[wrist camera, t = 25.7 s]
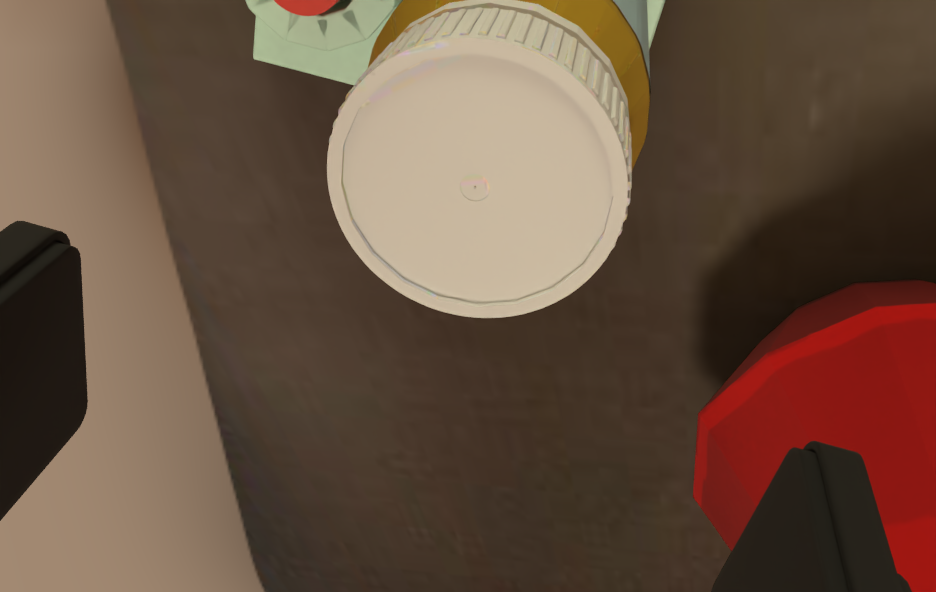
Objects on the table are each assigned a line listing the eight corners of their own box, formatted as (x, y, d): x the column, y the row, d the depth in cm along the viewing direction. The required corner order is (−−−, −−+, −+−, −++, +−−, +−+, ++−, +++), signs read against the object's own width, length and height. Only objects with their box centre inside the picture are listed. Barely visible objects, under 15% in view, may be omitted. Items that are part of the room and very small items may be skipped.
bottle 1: (680, -62, 28) (715, 85, 16) (600, 131, 32) (577, 377, 19) (475, -135, 28) (344, -44, 15) (420, 68, 32) (278, 274, 19)
